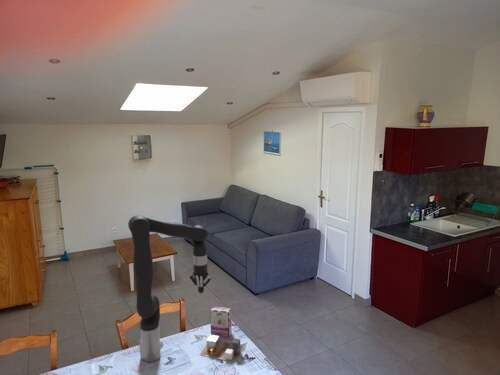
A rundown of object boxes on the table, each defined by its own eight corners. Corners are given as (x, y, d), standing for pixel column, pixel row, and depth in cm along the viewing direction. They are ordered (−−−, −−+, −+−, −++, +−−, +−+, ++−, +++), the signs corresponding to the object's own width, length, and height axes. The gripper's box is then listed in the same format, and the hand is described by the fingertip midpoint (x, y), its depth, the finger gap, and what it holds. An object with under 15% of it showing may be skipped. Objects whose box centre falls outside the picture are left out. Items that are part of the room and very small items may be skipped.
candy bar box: (231, 334, 202) (231, 307, 199) (229, 339, 197) (228, 312, 194) (213, 331, 204) (212, 305, 202) (210, 336, 199) (209, 310, 197)
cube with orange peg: (204, 354, 182) (204, 343, 181) (210, 344, 190) (210, 334, 189) (213, 355, 181) (213, 345, 180) (219, 346, 189) (219, 336, 188)
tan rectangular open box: (199, 356, 182) (198, 342, 181) (210, 341, 195) (209, 328, 194) (235, 364, 176) (235, 349, 175) (244, 347, 189) (243, 334, 188)
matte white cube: (224, 358, 179) (224, 352, 178) (227, 354, 182) (227, 348, 181) (231, 360, 178) (231, 353, 177) (233, 355, 181) (233, 349, 180)
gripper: (185, 263, 186) (187, 294, 189) (208, 266, 182) (209, 297, 185) (192, 258, 193) (193, 288, 196) (214, 261, 189) (215, 291, 192)
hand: (201, 292), depth 190 cm, fingers closed
